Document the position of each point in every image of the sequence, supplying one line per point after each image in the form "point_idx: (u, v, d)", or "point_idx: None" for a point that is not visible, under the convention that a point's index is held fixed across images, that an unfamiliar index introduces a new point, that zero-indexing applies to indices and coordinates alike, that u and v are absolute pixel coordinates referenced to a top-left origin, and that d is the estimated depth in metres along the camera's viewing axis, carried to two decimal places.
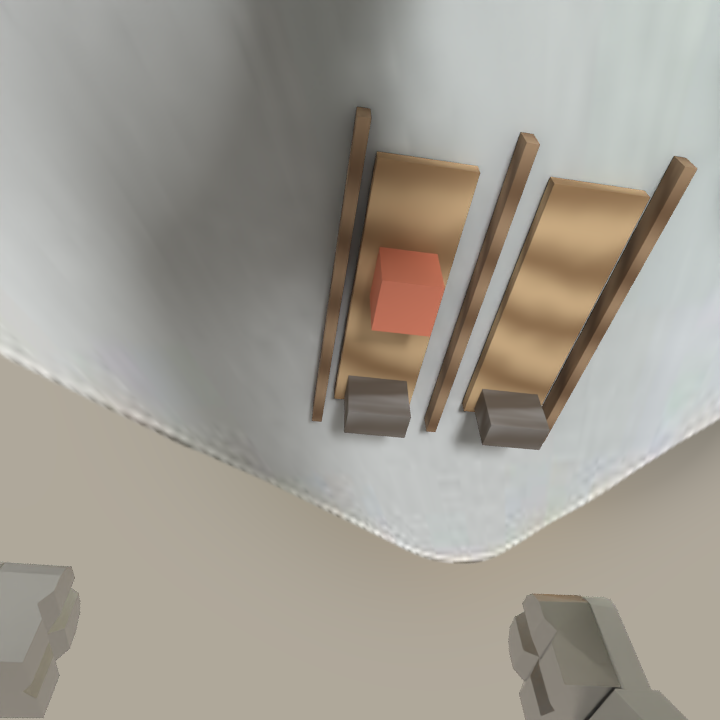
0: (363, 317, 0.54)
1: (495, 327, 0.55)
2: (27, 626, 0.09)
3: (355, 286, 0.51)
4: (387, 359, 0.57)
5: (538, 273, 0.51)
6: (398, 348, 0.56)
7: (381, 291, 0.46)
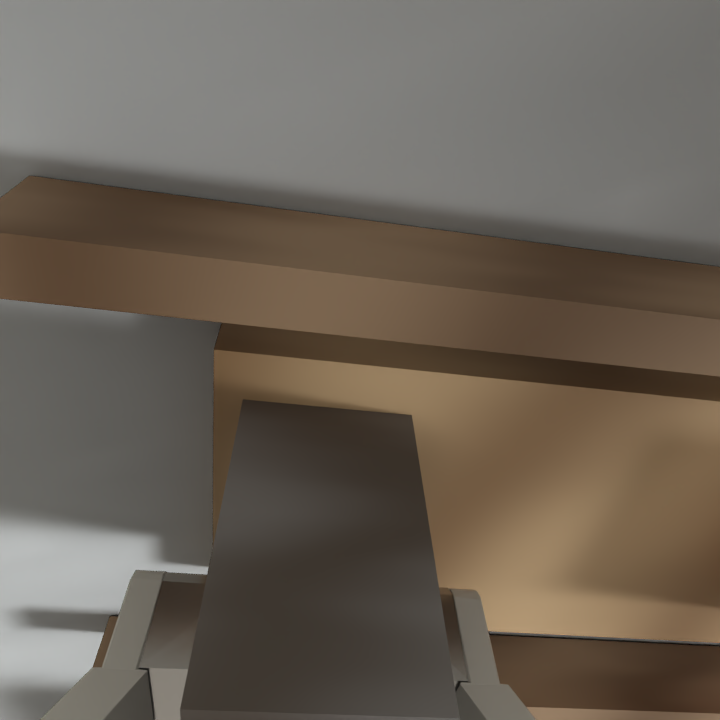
0: None
1: None
2: None
3: None
4: (494, 545, 0.13)
5: None
6: (554, 569, 0.13)
7: None
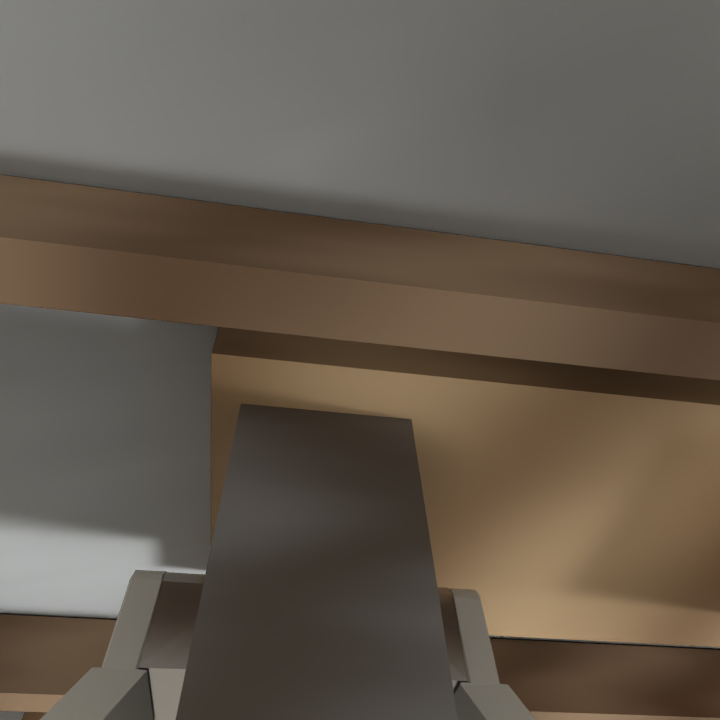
0: None
1: None
2: None
3: None
4: (495, 549, 0.13)
5: None
6: (555, 574, 0.13)
7: None
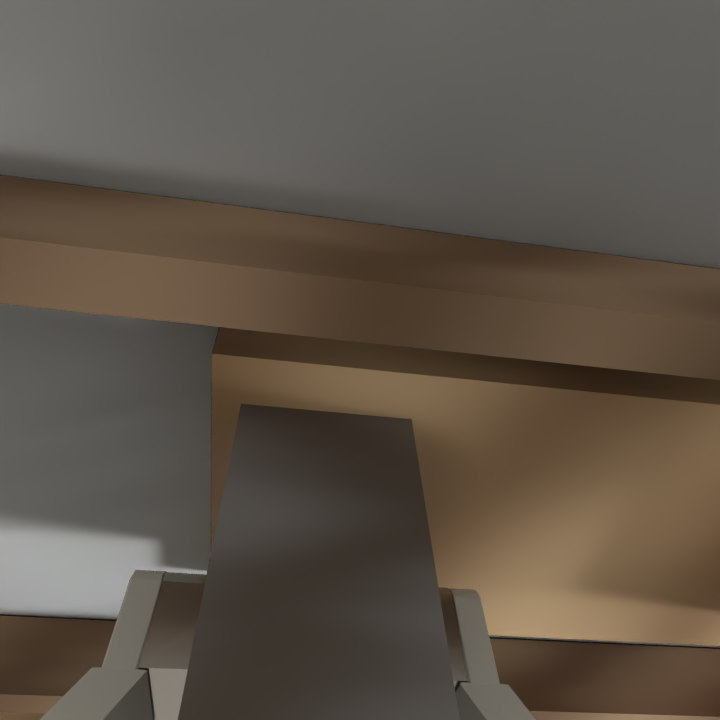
0: None
1: None
2: None
3: None
4: (494, 549, 0.13)
5: None
6: (555, 574, 0.13)
7: None
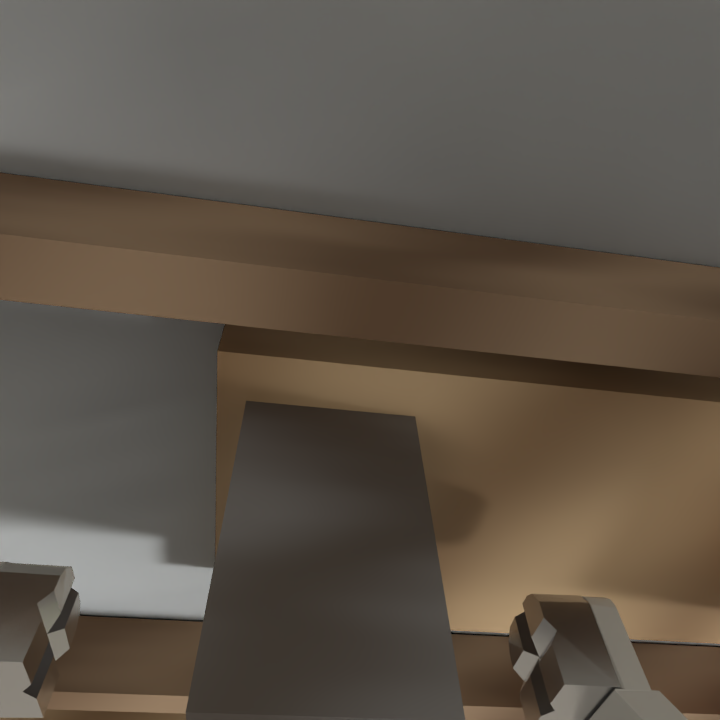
0: None
1: None
2: (27, 626, 0.09)
3: None
4: (496, 547, 0.13)
5: None
6: (556, 570, 0.13)
7: None
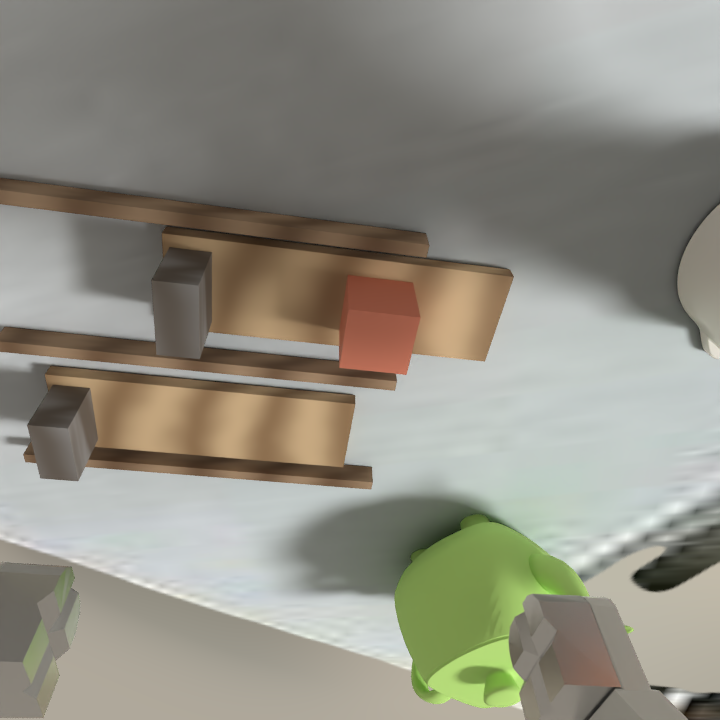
0: (313, 268, 0.43)
1: (185, 385, 0.49)
2: (27, 626, 0.09)
3: (360, 259, 0.43)
4: (246, 298, 0.44)
5: (261, 410, 0.51)
6: (267, 308, 0.45)
7: (405, 317, 0.40)
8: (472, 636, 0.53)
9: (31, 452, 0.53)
